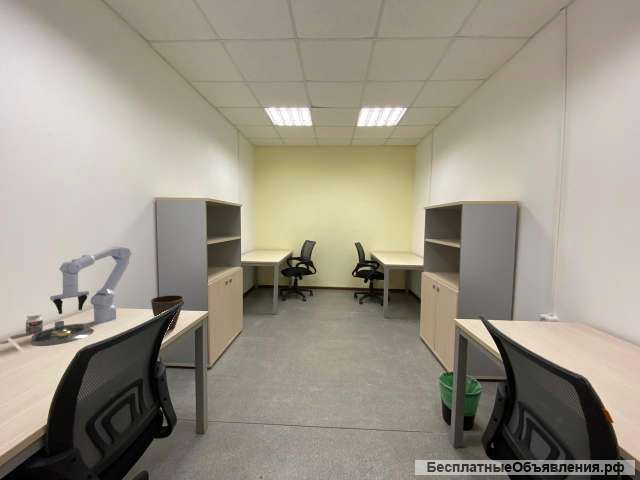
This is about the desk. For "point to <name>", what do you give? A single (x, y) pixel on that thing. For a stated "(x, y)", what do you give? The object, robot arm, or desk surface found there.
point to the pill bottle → (34, 323)
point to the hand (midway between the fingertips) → (70, 311)
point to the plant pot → (166, 306)
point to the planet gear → (58, 327)
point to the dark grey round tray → (61, 335)
